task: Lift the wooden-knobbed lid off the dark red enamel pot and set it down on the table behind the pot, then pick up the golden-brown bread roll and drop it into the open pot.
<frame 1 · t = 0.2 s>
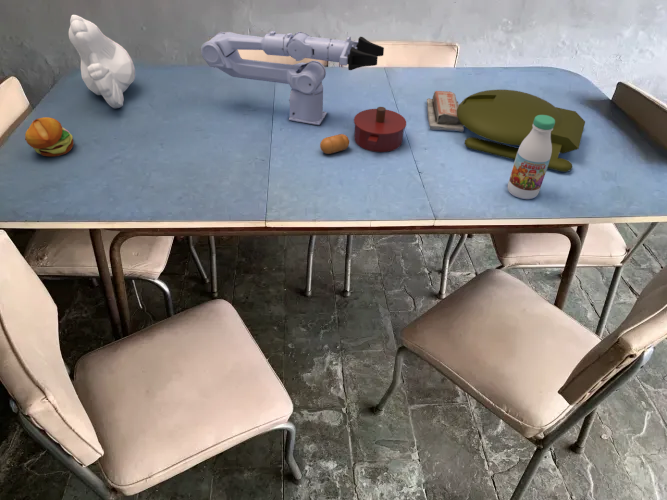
hand: (380, 56, 145), 21 cm above the table, tool horizontal, fingers open, 7 cm apart
pot lid: (379, 122, 151), point 5 cm above the table, touching pot
milk bottle: (522, 191, 138), on the table
spaceship: (513, 135, 160), on the table
white rounded figure: (109, 98, 168), on the table
packaged product: (443, 117, 166), on the table
cheeseburger: (55, 150, 145), on the table
pot: (378, 139, 155), on the table
bread roll: (334, 151, 149), on the table
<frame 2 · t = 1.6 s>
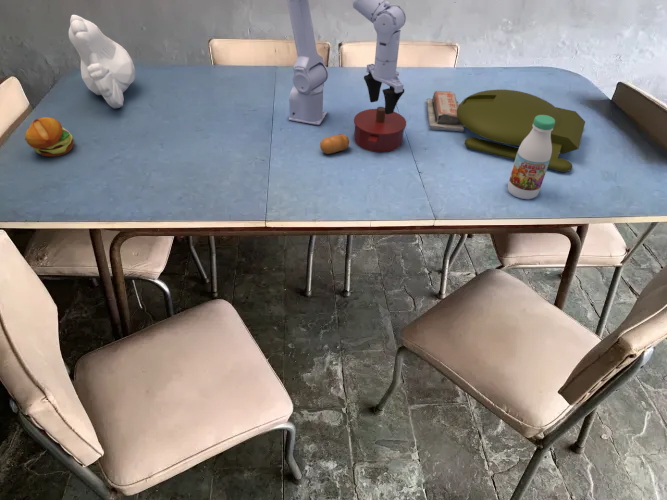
hand: (381, 107, 148), 10 cm above the table, tool pointing down, fingers open, 7 cm apart
spaceship: (513, 135, 160), on the table, touching packaged product
packaged product: (443, 117, 166), on the table, touching spaceship
everything else where it was.
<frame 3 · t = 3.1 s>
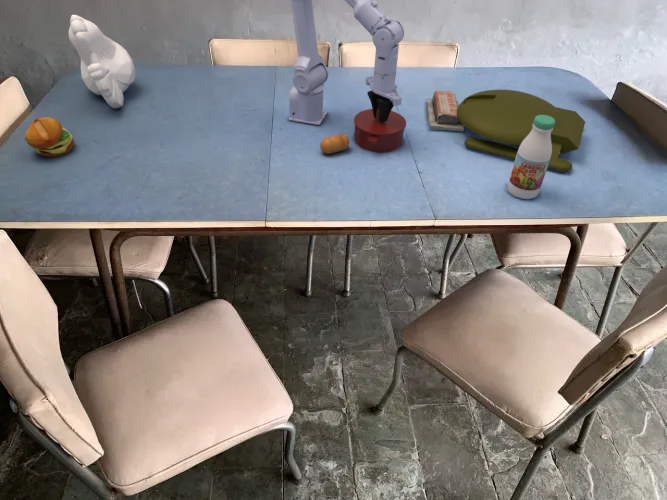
hand: (380, 119, 150), 6 cm above the table, tool pointing down, fingers closed on pot lid, 2 cm apart
pot lid: (379, 122, 151), point 5 cm above the table, touching gripper, pot
everything else where it was.
when the fingers open (2 cm above the table, at t = 7.9 s): pot lid stays where it is, point 1 cm above the table.
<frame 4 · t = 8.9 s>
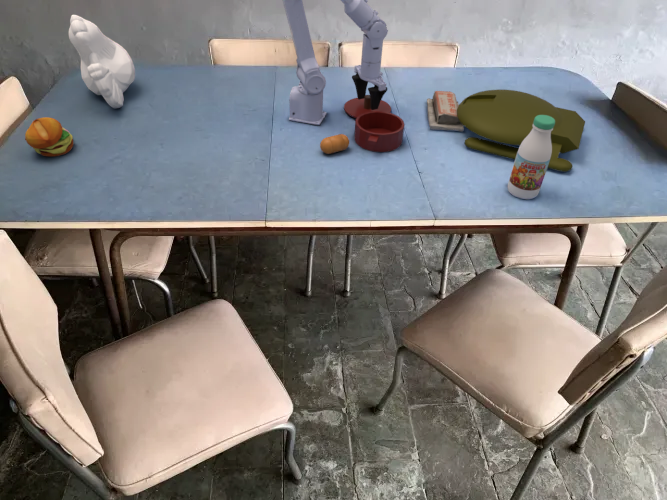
hand: (367, 103, 166), 2 cm above the table, tool pointing down, fingers open, 7 cm apart
pot lid: (367, 109, 167), point 1 cm above the table
spaceship: (513, 135, 160), on the table
packaged product: (443, 117, 166), on the table
everything else where it was.
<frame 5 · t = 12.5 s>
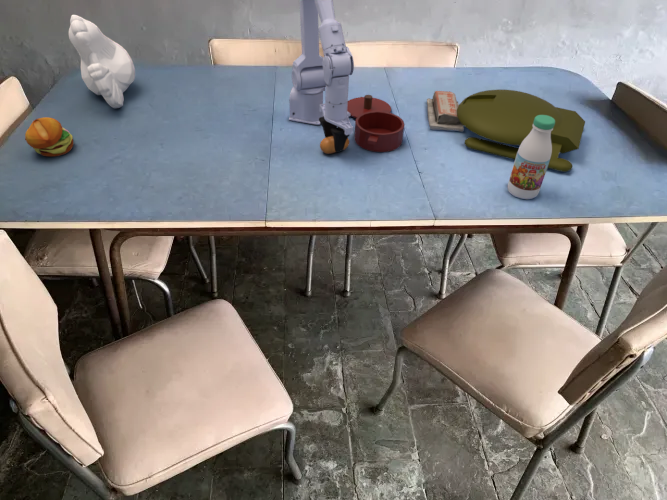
hand: (334, 146, 148), 1 cm above the table, tool pointing down, fingers closed on bread roll, 4 cm apart
spaceship: (513, 135, 160), on the table, touching packaged product
packaged product: (443, 117, 166), on the table, touching spaceship
bread roll: (334, 151, 149), on the table, touching gripper
everything else where it was.
when the fingers open (2 cm above the table, at t = 17.7 s): bread roll stays where it is, resting on pot.
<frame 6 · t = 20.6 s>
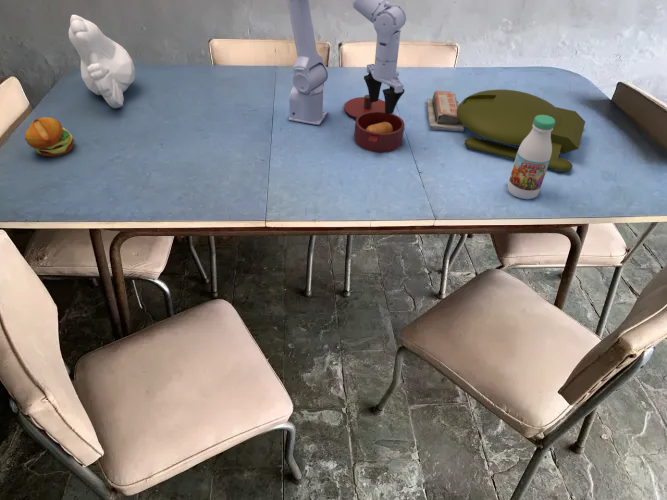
hand: (381, 107, 148), 10 cm above the table, tool pointing down, fingers open, 7 cm apart
bread roll: (378, 138, 154), resting on pot
everything else where it was.
at the end: pot lid inside the target area (0.1 cm from its centre), point 0.6 cm above the table; bread roll inside the target area in the pot (0.0 cm from its centre), point 0.4 cm above the pot's base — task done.
